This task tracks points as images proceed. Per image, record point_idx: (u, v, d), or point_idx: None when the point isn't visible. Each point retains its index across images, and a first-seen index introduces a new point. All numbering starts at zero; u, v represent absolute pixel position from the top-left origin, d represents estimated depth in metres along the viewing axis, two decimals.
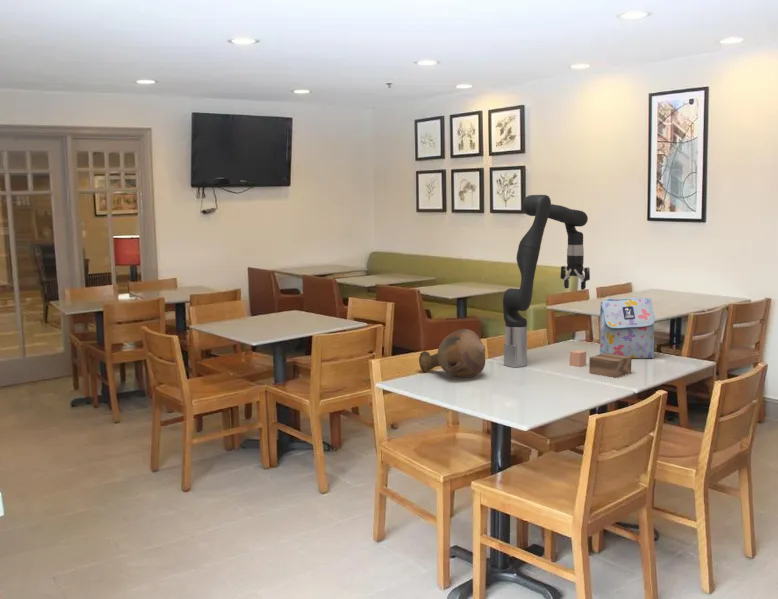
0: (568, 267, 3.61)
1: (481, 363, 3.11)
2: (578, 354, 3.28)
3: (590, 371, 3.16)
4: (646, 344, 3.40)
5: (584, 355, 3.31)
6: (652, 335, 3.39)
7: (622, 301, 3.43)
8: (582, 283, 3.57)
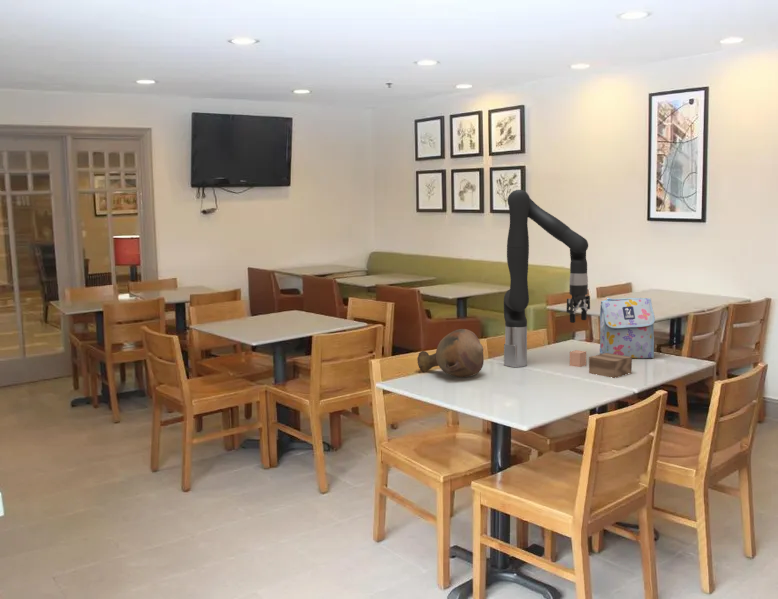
0: (576, 299, 3.26)
1: (479, 363, 3.11)
2: (578, 354, 3.28)
3: (590, 371, 3.17)
4: (646, 344, 3.40)
5: (584, 355, 3.31)
6: (652, 335, 3.39)
7: (622, 301, 3.43)
8: None
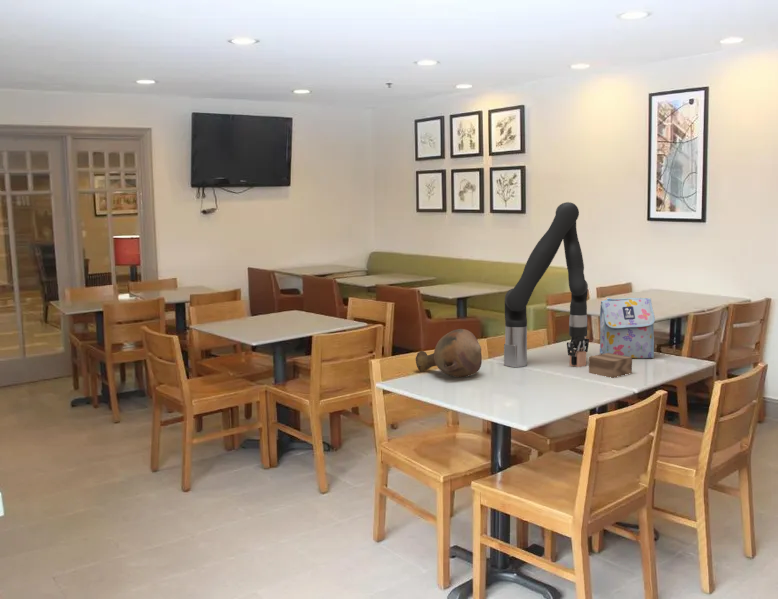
0: (576, 340, 3.28)
1: (477, 363, 3.11)
2: (578, 354, 3.28)
3: (590, 371, 3.17)
4: (646, 344, 3.40)
5: (584, 355, 3.31)
6: (652, 335, 3.39)
7: (622, 301, 3.43)
8: None
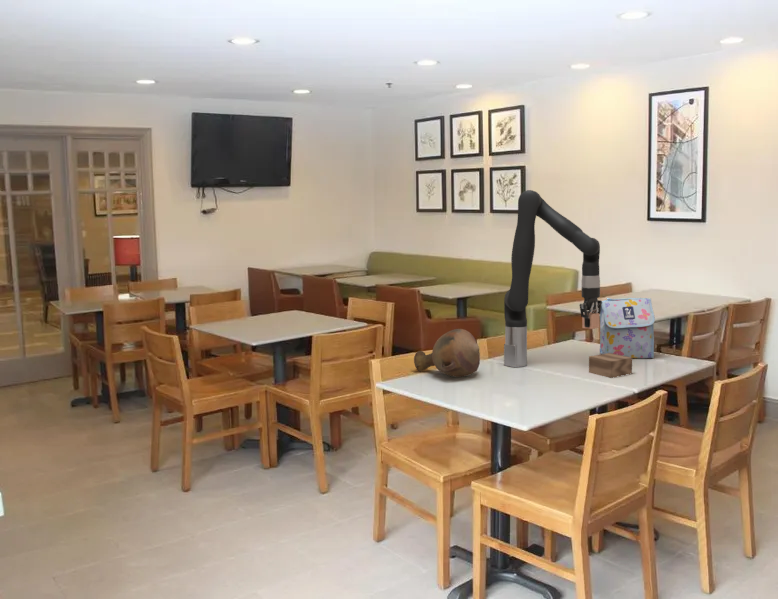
0: (589, 301, 3.20)
1: (475, 363, 3.12)
2: (591, 316, 3.21)
3: (590, 370, 3.18)
4: (646, 344, 3.40)
5: (597, 317, 3.23)
6: (652, 335, 3.39)
7: (622, 301, 3.43)
8: None
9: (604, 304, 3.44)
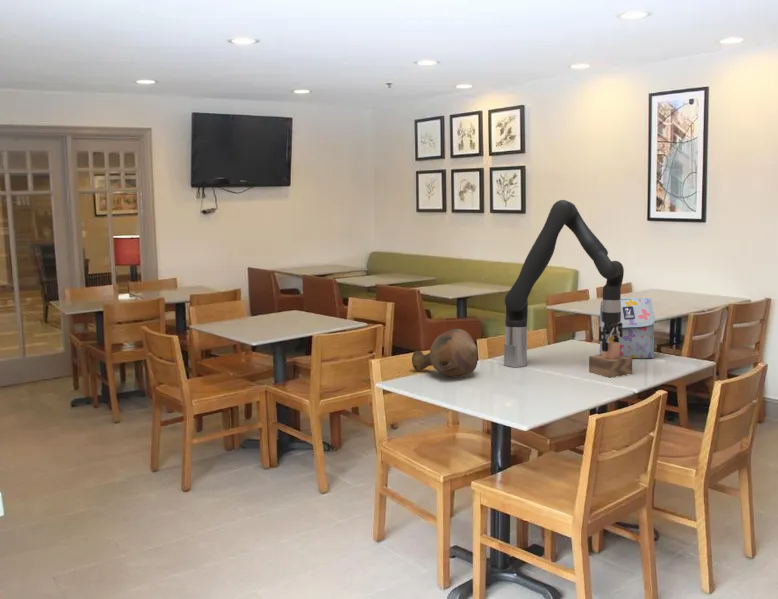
0: (609, 326, 3.11)
1: (473, 363, 3.12)
2: (611, 345, 3.12)
3: (590, 370, 3.18)
4: (646, 344, 3.40)
5: (617, 346, 3.14)
6: (652, 335, 3.39)
7: (622, 301, 3.43)
8: (618, 341, 3.17)
9: None
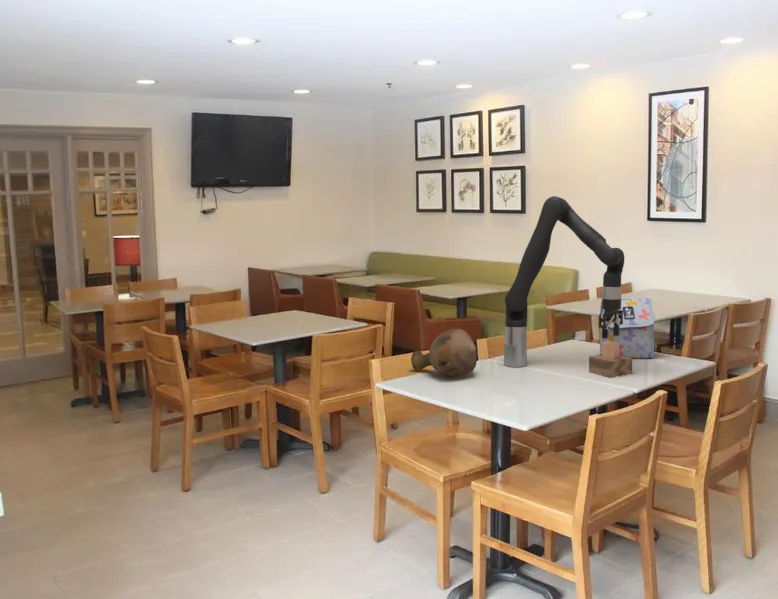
0: (609, 313, 3.10)
1: (472, 363, 3.12)
2: (612, 345, 3.12)
3: (590, 370, 3.18)
4: (646, 344, 3.40)
5: (617, 346, 3.14)
6: (652, 335, 3.39)
7: (622, 301, 3.43)
8: (618, 328, 3.16)
9: None
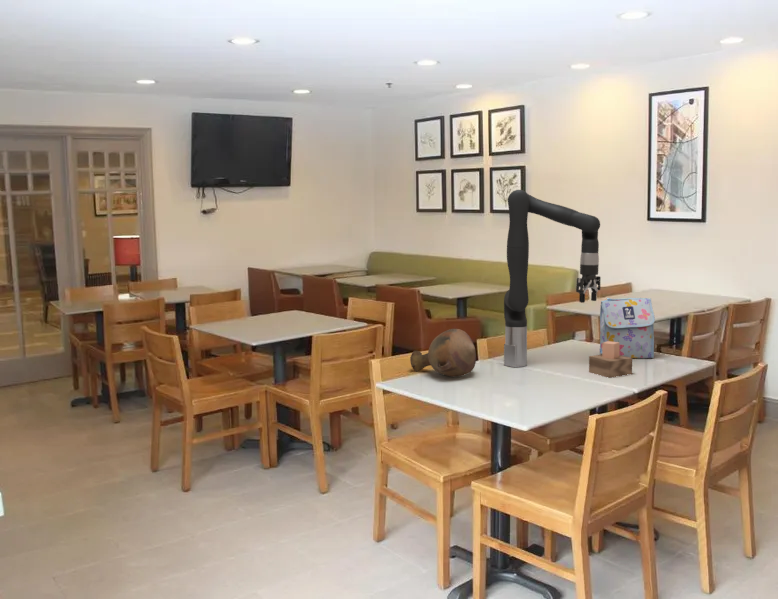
0: (587, 278, 3.23)
1: (471, 363, 3.12)
2: (612, 345, 3.12)
3: (590, 370, 3.18)
4: (646, 344, 3.40)
5: (617, 346, 3.14)
6: (652, 335, 3.39)
7: (622, 301, 3.43)
8: None
9: (604, 304, 3.44)
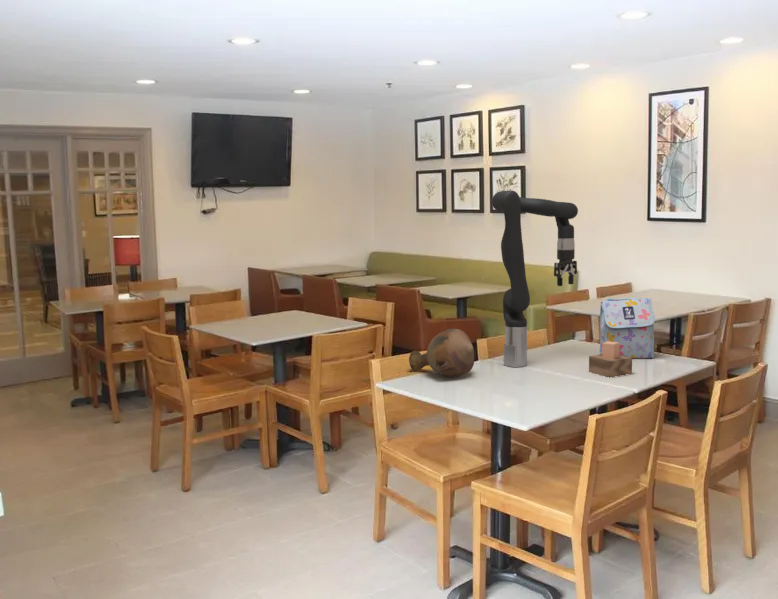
0: (564, 263, 3.38)
1: (469, 362, 3.12)
2: (612, 345, 3.11)
3: (590, 370, 3.19)
4: (646, 344, 3.40)
5: (617, 346, 3.14)
6: (652, 335, 3.39)
7: (622, 301, 3.43)
8: None
9: (604, 304, 3.44)
